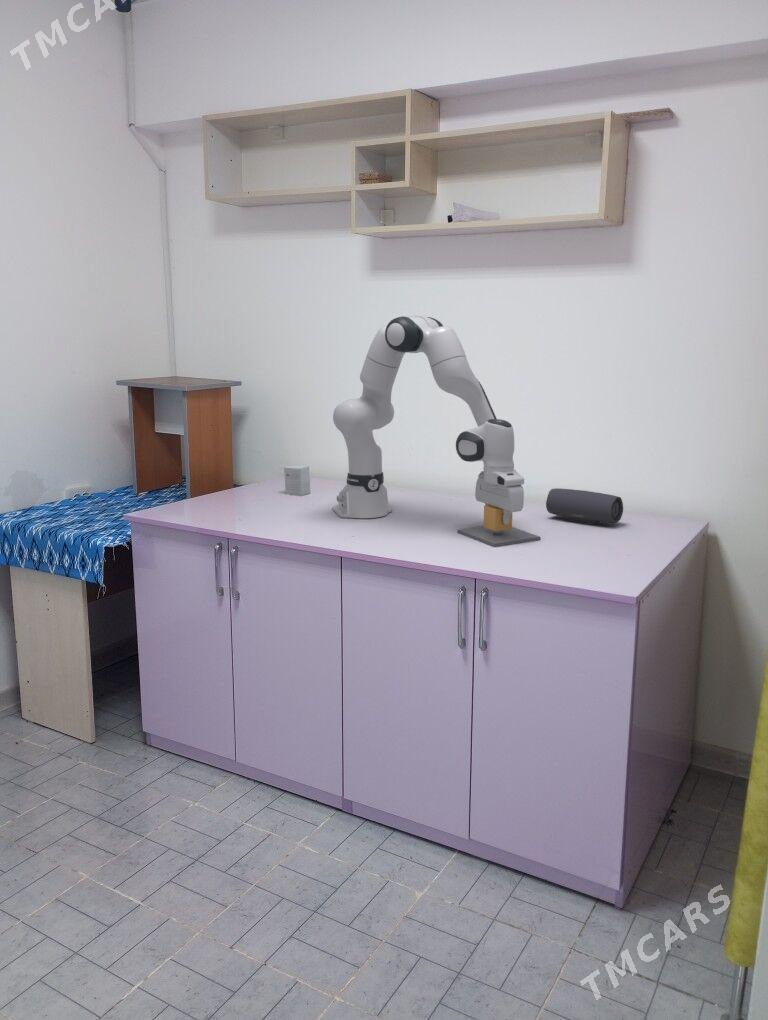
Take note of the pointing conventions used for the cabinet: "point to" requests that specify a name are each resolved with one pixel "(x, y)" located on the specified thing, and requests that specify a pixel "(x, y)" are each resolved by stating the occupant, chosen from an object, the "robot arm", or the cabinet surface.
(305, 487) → the small box
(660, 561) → the cabinet surface
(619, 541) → the cabinet surface
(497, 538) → the plate
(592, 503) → the bluetooth speaker
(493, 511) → the wooden cube
